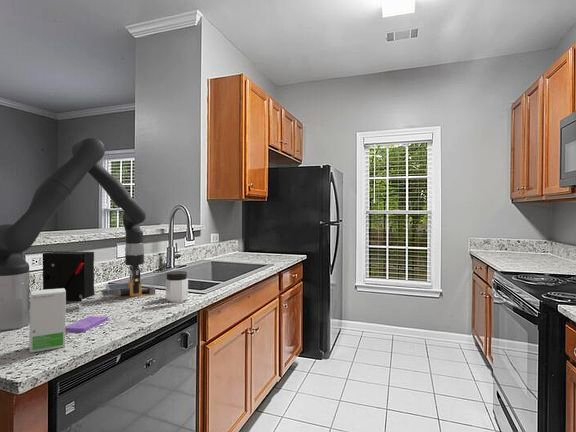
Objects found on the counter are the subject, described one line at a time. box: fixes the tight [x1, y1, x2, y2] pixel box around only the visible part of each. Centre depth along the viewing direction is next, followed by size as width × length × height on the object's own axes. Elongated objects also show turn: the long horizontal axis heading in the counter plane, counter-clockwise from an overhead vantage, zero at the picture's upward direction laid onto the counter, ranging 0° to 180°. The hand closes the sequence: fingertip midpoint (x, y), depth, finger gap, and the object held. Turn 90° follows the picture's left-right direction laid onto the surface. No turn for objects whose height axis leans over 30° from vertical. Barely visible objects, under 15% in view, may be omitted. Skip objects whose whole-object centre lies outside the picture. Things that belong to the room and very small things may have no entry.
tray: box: [105, 282, 128, 296], centre depth 161 cm, size 12×12×3 cm
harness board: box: [112, 285, 157, 300], centre depth 153 cm, size 16×10×4 cm, turn 122°
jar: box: [165, 270, 189, 305], centre depth 147 cm, size 9×8×12 cm
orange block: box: [127, 279, 142, 296], centre depth 153 cm, size 6×4×6 cm
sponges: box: [65, 315, 109, 333], centre depth 116 cm, size 7×13×2 cm, turn 175°
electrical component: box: [42, 250, 96, 302], centre depth 150 cm, size 18×10×20 cm, turn 84°
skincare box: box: [28, 288, 67, 354], centre depth 98 cm, size 8×7×16 cm
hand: (134, 291), depth 153 cm, fingers open, 6 cm apart
